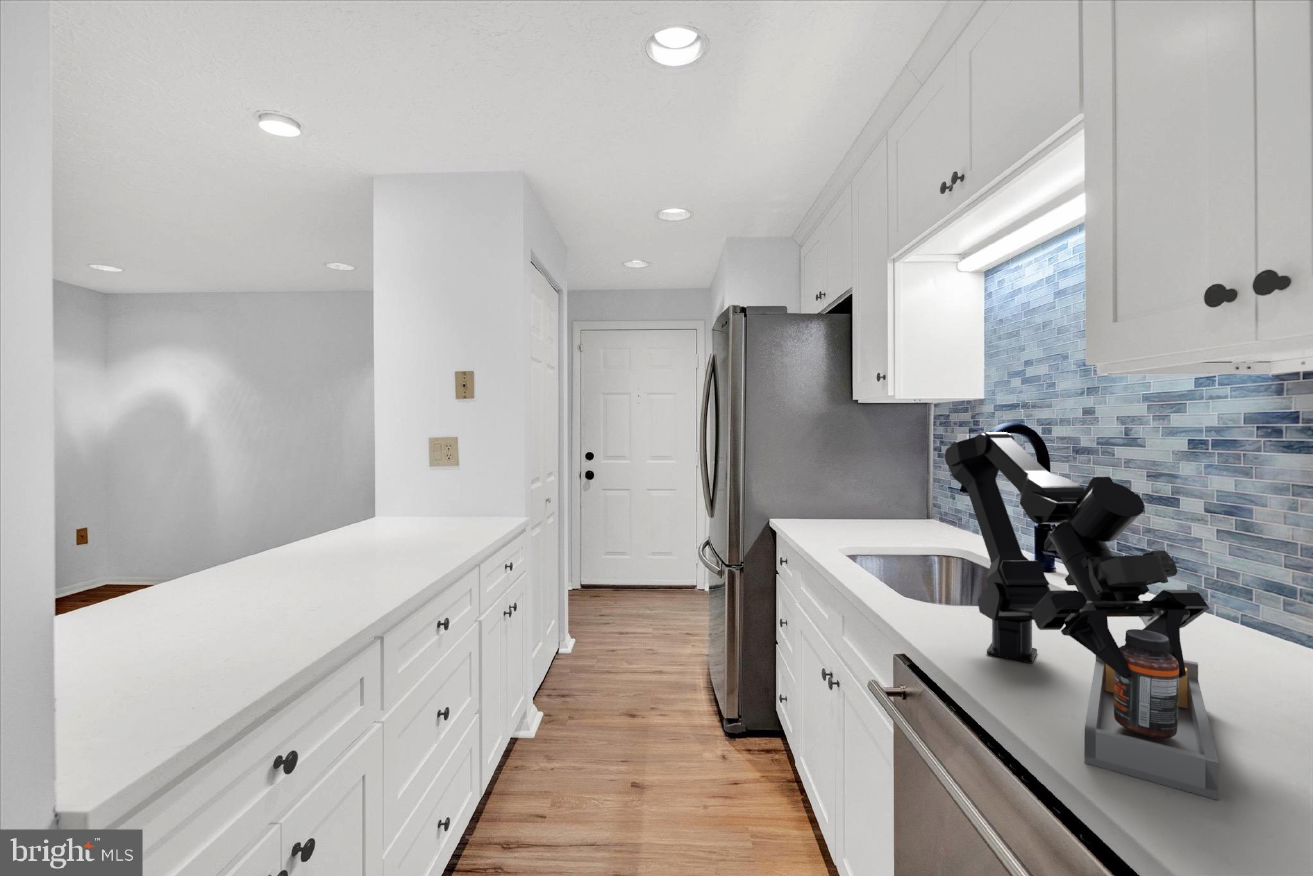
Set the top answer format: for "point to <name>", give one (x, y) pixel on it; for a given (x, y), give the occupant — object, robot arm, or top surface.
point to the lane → (1154, 741)
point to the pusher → (1182, 686)
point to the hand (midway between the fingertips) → (1155, 676)
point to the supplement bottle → (1147, 686)
